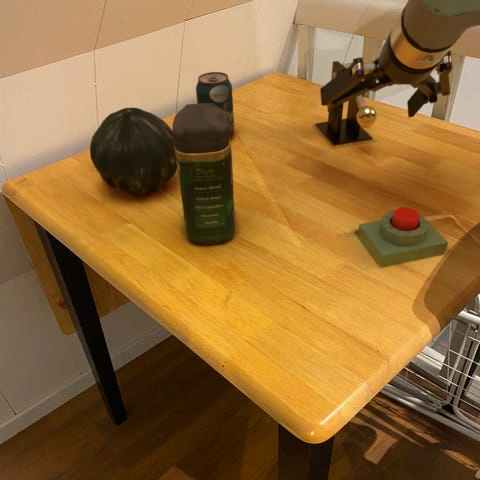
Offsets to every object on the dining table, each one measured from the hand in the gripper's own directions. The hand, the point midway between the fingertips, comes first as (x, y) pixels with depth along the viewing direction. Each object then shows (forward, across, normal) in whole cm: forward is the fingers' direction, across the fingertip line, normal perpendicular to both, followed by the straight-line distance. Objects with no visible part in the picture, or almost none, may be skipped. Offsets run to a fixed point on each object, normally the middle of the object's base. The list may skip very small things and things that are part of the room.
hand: (370, 112), depth 84 cm
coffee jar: (-6, -29, -19) cm, 35 cm away
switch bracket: (+14, -2, +1) cm, 14 cm away
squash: (+6, -41, -7) cm, 42 cm away
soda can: (+17, -27, +4) cm, 32 cm away
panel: (-12, -1, -25) cm, 27 cm away
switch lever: (+6, -1, +4) cm, 7 cm away
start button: (-14, -1, -22) cm, 26 cm away
